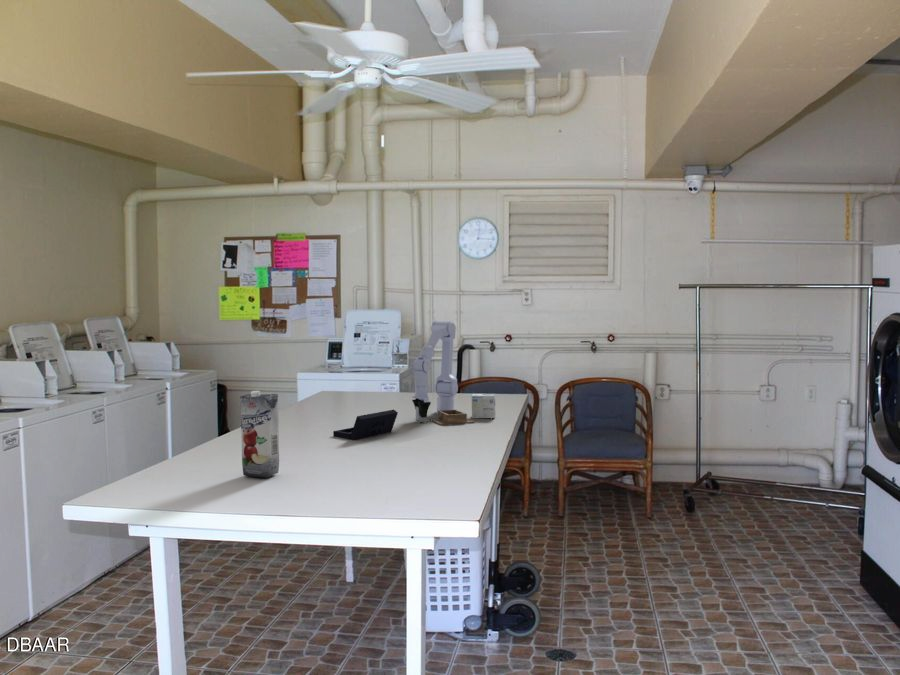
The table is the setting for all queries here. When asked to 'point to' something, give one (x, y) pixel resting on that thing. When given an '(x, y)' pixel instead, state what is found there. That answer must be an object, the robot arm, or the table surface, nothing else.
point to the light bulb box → (483, 406)
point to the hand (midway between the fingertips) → (421, 416)
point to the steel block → (418, 415)
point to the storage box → (369, 426)
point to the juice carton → (260, 434)
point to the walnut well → (451, 417)
